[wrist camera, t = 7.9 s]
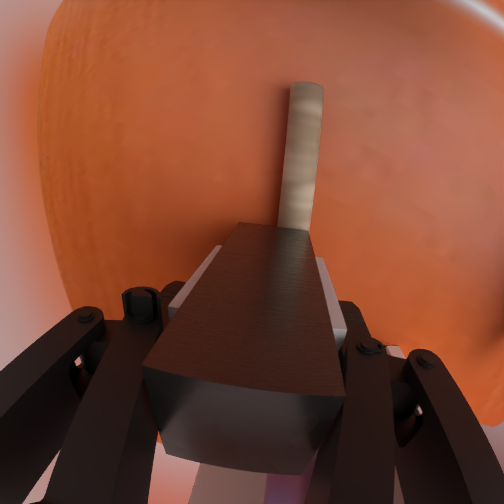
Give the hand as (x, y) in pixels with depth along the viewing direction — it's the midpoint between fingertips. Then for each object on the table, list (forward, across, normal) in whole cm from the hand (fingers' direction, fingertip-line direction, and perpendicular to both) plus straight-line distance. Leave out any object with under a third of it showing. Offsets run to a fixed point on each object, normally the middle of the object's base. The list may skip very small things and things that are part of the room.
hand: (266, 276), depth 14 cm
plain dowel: (+4, 0, +5) cm, 6 cm away
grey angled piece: (+2, +2, -6) cm, 7 cm away
